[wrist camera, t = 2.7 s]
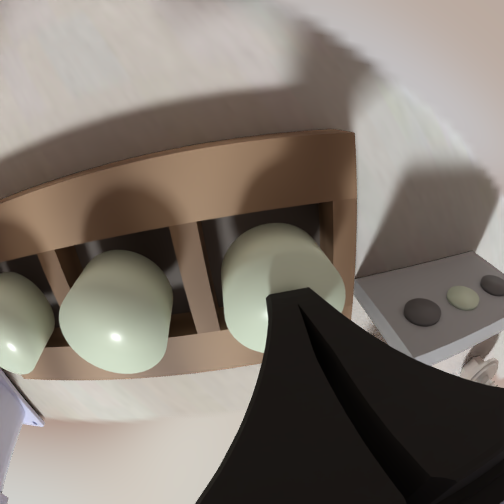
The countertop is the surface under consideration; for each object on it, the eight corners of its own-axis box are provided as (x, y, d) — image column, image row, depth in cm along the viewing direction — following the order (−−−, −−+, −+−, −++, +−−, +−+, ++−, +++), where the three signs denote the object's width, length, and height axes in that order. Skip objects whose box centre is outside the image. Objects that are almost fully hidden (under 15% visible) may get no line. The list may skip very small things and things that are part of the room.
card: (353, 294, 15) (408, 374, 10) (355, 275, 15) (415, 354, 9) (469, 264, 16) (529, 314, 11) (473, 248, 15) (536, 296, 10)
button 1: (229, 319, 13) (234, 362, 10) (212, 232, 11) (213, 265, 9) (321, 303, 13) (342, 340, 11) (320, 215, 11) (347, 242, 9)
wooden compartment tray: (34, 357, 15) (23, 378, 13) (-33, 213, 10) (-54, 228, 9) (335, 320, 16) (348, 344, 14) (333, 129, 12) (354, 132, 10)
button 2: (14, 341, 12) (-4, 372, 10) (-19, 277, 10) (-46, 305, 8) (67, 338, 12) (51, 375, 10) (32, 265, 10) (4, 298, 8)
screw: (470, 379, 23) (443, 386, 22) (493, 344, 21) (469, 348, 20) (527, 464, 12) (504, 485, 11) (562, 430, 10) (544, 450, 9)
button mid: (101, 336, 12) (87, 375, 10) (67, 258, 10) (41, 292, 8) (183, 326, 12) (180, 369, 10) (158, 241, 11) (146, 275, 8)
